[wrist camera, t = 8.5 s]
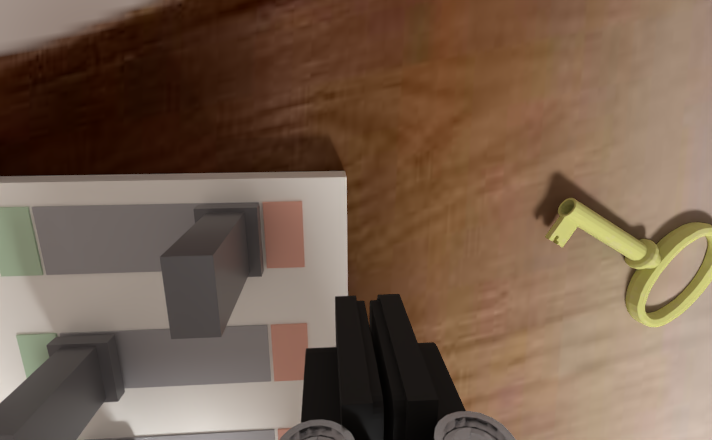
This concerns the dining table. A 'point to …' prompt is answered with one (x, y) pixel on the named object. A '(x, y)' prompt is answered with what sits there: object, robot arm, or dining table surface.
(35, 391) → the middle switch
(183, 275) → the switch
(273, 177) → the switch board
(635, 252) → the key
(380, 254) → the dining table surface
